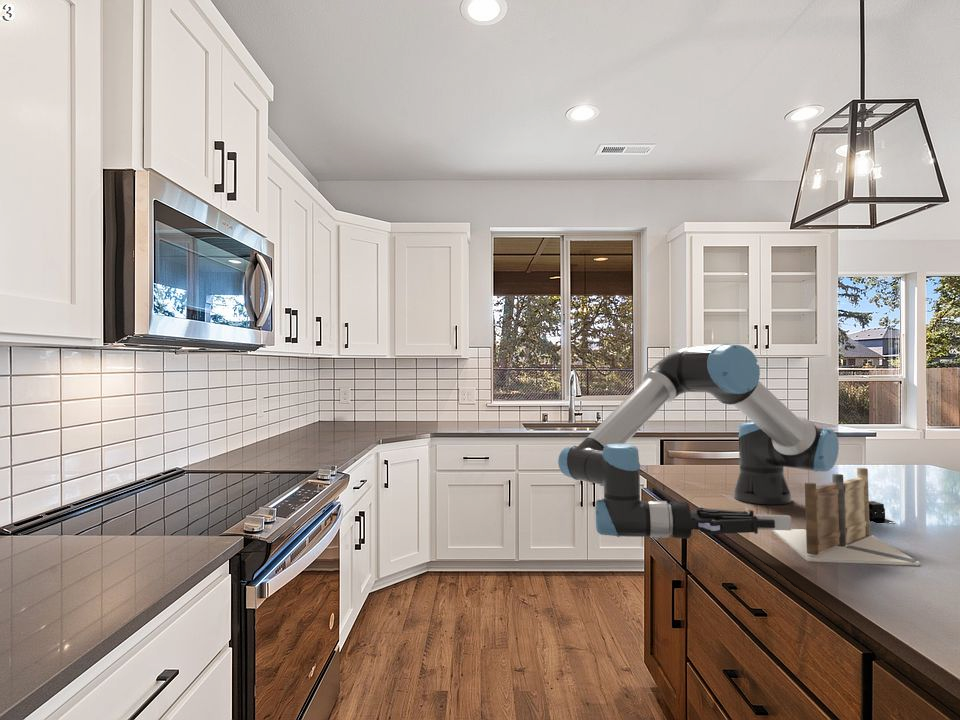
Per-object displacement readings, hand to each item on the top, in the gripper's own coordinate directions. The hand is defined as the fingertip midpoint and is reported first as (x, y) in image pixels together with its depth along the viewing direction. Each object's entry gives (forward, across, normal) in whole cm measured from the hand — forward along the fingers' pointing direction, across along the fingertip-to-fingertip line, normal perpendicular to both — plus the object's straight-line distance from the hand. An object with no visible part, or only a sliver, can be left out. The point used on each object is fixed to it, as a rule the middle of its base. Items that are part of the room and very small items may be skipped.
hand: (789, 522), depth 116 cm
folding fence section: (+7, -3, -6) cm, 10 cm away
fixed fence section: (+17, -12, -6) cm, 22 cm away
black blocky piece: (+31, -35, -8) cm, 47 cm away
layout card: (+12, -9, -7) cm, 17 cm away
